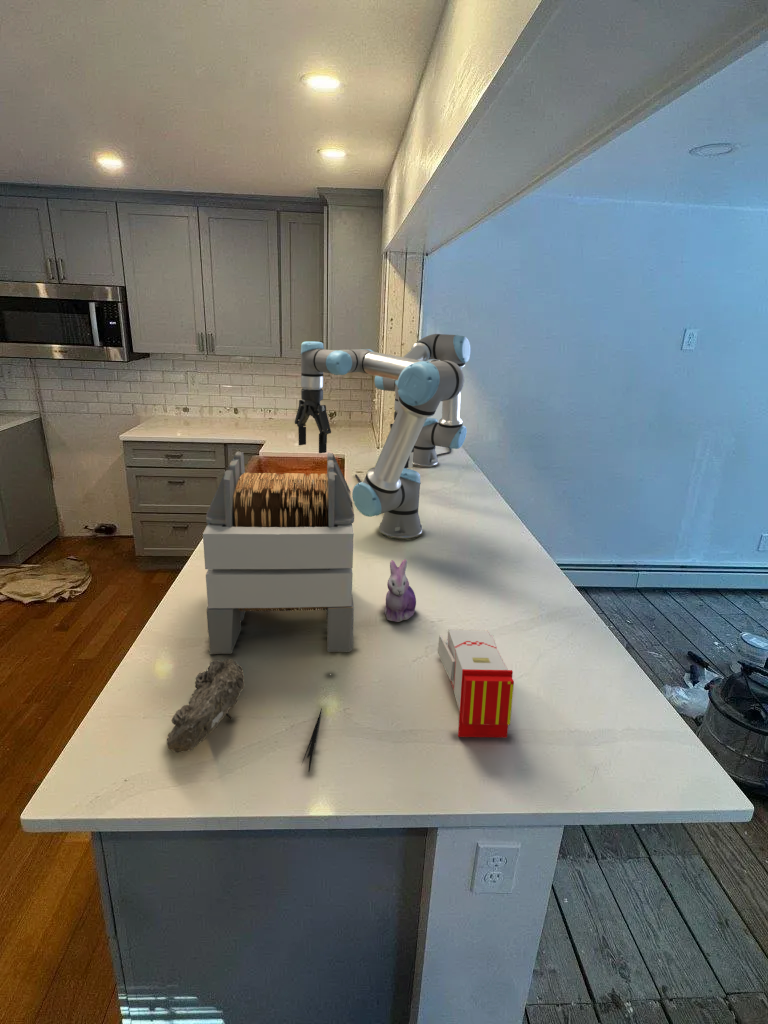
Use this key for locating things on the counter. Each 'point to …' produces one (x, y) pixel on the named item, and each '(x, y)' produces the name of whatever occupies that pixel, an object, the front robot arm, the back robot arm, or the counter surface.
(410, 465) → the brick
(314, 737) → the feather
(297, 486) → the record crate
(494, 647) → the toy
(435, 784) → the counter surface
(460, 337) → the back robot arm
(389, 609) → the figurine
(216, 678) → the grey long lumpy piece
